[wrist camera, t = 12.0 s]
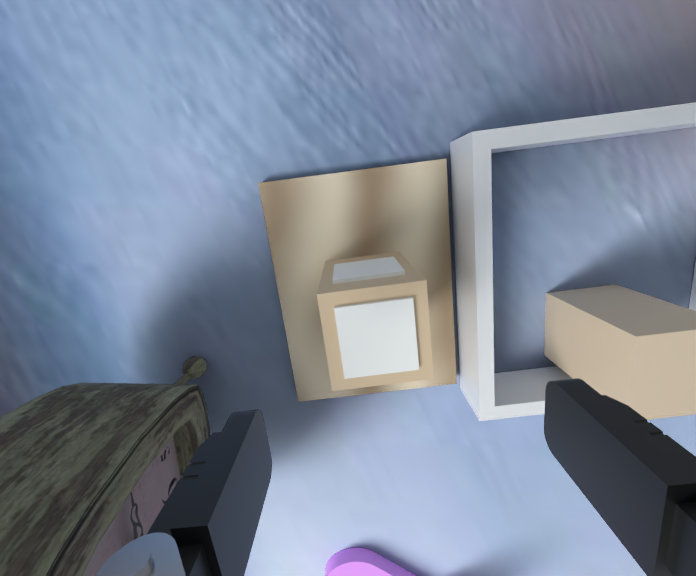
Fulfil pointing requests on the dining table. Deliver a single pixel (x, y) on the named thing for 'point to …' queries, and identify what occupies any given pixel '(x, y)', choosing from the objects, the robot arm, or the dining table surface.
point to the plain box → (625, 347)
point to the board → (359, 255)
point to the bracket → (362, 564)
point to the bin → (477, 252)
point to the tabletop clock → (92, 470)
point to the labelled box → (375, 321)
